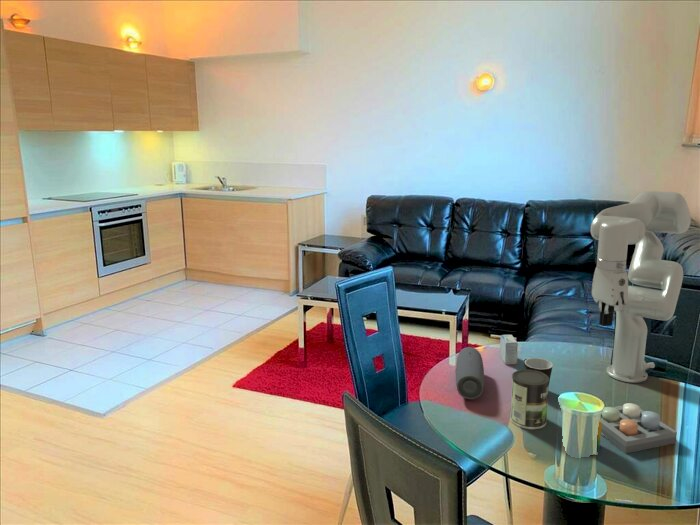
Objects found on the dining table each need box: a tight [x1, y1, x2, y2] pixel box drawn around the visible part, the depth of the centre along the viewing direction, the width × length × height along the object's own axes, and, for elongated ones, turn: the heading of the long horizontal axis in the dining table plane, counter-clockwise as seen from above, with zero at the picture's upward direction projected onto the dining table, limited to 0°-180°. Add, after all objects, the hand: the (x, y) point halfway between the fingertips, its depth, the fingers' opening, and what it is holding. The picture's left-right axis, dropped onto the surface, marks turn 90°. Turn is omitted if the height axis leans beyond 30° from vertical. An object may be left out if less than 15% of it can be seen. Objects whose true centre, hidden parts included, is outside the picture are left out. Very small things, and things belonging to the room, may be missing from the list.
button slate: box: [641, 410, 661, 430], centre depth 148 cm, size 4×4×3 cm
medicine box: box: [499, 334, 519, 366], centre depth 199 cm, size 8×4×9 cm, turn 179°
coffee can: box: [510, 368, 551, 430], centre depth 158 cm, size 10×10×14 cm
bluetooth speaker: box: [454, 346, 485, 400], centre depth 180 cm, size 23×9×10 cm, turn 168°
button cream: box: [622, 402, 642, 419], centre depth 155 cm, size 4×4×3 cm
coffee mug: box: [523, 357, 554, 383], centre depth 177 cm, size 12×9×10 cm
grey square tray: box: [600, 404, 677, 454], centre depth 151 cm, size 16×16×4 cm
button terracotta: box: [619, 419, 638, 437], centre depth 147 cm, size 4×4×3 cm
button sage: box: [602, 406, 620, 423], centre depth 153 cm, size 4×4×3 cm
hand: (605, 324), depth 159 cm, fingers closed
